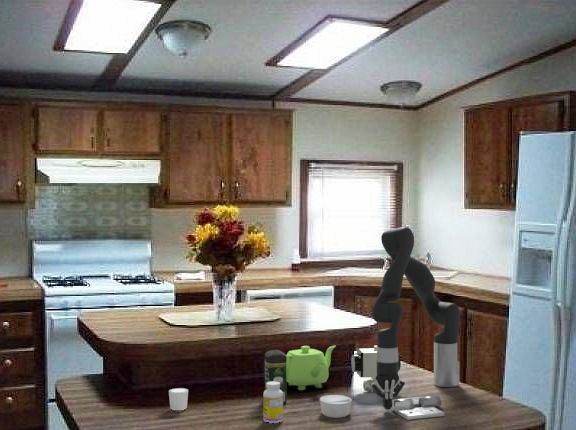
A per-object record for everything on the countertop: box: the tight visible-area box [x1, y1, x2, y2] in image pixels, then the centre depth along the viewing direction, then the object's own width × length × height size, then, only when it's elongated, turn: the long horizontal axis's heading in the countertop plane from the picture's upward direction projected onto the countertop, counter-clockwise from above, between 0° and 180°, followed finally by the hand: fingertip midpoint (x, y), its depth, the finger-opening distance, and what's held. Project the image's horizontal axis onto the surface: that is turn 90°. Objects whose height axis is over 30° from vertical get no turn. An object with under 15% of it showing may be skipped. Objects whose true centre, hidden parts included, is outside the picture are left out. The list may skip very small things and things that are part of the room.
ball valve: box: [351, 345, 402, 393], centre depth 275 cm, size 18×8×18 cm, turn 97°
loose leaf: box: [391, 397, 445, 421], centre depth 246 cm, size 14×12×4 cm
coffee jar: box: [264, 349, 288, 404], centre depth 261 cm, size 10×8×19 cm
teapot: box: [285, 345, 337, 391], centre depth 282 cm, size 25×22×16 cm
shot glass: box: [168, 387, 189, 410], centre depth 250 cm, size 7×7×7 cm
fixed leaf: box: [392, 395, 442, 409], centre depth 255 cm, size 15×12×4 cm
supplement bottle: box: [262, 381, 284, 424], centre depth 237 cm, size 7×7×13 cm
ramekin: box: [319, 394, 353, 419], centre depth 245 cm, size 11×11×5 cm
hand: (387, 408), depth 247 cm, fingers closed
